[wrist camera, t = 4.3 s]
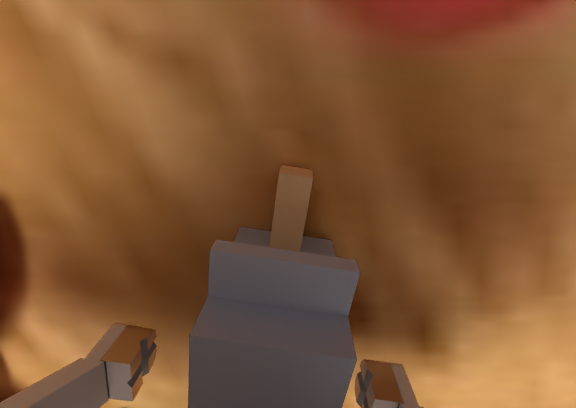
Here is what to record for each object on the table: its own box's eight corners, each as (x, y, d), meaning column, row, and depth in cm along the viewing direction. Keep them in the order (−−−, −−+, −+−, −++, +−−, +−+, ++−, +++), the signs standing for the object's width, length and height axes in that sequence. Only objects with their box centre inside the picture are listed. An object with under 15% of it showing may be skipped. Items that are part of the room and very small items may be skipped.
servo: (346, 172, 11) (404, 274, 5) (298, 389, 16) (296, 588, 9) (246, 157, 11) (174, 240, 5) (227, 379, 16) (176, 571, 9)
